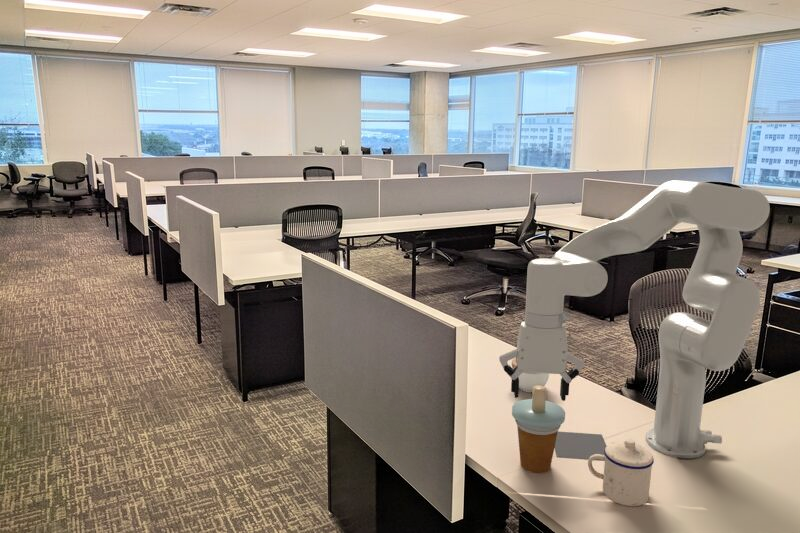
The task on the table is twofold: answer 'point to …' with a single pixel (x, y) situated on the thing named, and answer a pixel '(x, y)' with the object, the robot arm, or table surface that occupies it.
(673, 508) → the table surface
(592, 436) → the mat
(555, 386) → the table surface
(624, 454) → the teacup with lid
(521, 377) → the lidded jar
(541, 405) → the cover
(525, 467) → the disposable coffee cup
